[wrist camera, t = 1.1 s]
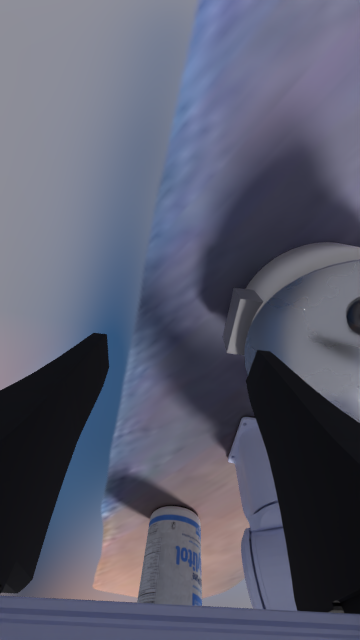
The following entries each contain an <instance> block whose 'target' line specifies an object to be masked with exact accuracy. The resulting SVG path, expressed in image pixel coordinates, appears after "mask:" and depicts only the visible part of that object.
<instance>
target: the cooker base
mask: <svg viewBox="0 0 360 640" xmlns="http://www.w3.org/2000/svg"><path fill="white" fill-rule="evenodd" d="M359 259H360V247H356V246H351V245H346V244H341V243H334V242H320V243H312V244H307V245H303V246H300V247H297V248H294V249H291V250H289V251H287V252H285V253H283V254H281V255H279V256H278V257H276V258H274V259H273V260H271V261H270V262H269V263H268V264H266V265H265V266H264V267H263V268H262V269H261V270H260V271H259V272H258V273H257V274H256V275H255V276H254V277H253V278H252V280H251V281H250V282H249V284H248V285H247V287H246V288H245V289H241V288H234V290H233V294H232V298H231V303H230V307H229V311H228V316H227V320H226V324H225V329H224V333H223V340H224V344H225V348H226V352H227V353H230V354H239V355H244V351H245V342H246V337H247V334H248V331H249V328H250V326H251V324H252V322H253V320H254V318H255V316H256V315H257V313H258V312H259V311H260V309H261V308H262V307H263V305H264V304H265V303H266V302H267V301H268V300H269V299H270V298H271V297H272V296H273V295H274V294H275V293H276V292H278V291H279V290H280V289H281V288H283V287H284V286H285V285H287V284H288V283H290V282H292V281H293V280H295V279H297V278H299V277H300V276H303V275H305V274H307V273H309V272H312V271H314V270H316V269H320V268H323V267H326V266H329V265H332V264H337V263H341V262H346V261H351V260H359Z"/></svg>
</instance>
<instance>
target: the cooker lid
mask: <svg viewBox="0 0 360 640" xmlns="http://www.w3.org/2000/svg"><path fill="white" fill-rule="evenodd" d="M257 350H263V351H270V352H272V353H273V354H274V355H275V356H277V357H278V358H279V359H280V360H281V361H282V362H283V363H285V364H286V365H287V366H288V367H289V368H290V369H291V370H292V371H294V372H295V373H296V374H297V375H298V376H299V377H300V378H302V379H303V380H304V381H305V382H306V383H307V384H309V385H310V386H311V387H312V388H313V389H315V390H316V391H317V392H318V393H320V394H321V395H322V396H323V397H325V398H326V399H327V400H328V401H330V402H331V403H332V404H334V405H335V406H336V407H338V408H339V409H340V410H342V411H343V412H345V413H346V414H347V415H349V416H350V417H352V418H353V419H355V420H356V421H357V422H359V423H360V259H359V260H351V261H346V262H341V263H337V264H332V265H329V266H326V267H323V268H320V269H316V270H314V271H312V272H309V273H307V274H305V275H303V276H300V277H299V278H297V279H295V280H293V281H292V282H290V283H288V284H287V285H285V286H284V287H283V288H281V289H280V290H279V291H278V292H276V293H275V294H274V295H273V296H272V297H271V298H270V299H269V300H268V301H267V302H266V303H265V304H264V305H263V307H262V308H261V309H260V311H259V312H258V313H257V315H256V316H255V318H254V320H253V322H252V324H251V326H250V328H249V331H248V334H247V337H246V342H245V351H244V358H245V367H246V371H247V376H248V374H249V372H250V369H251V366H252V363H253V361H254V358H255V355H256V352H257Z"/></svg>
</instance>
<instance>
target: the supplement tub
mask: <svg viewBox="0 0 360 640" xmlns="http://www.w3.org/2000/svg"><path fill="white" fill-rule="evenodd" d="M137 603H153V604H172V605H191V606H202V586H201V525H200V520H199V518H198V516H197V515H196V514H195V513H194V512H192V511H191V510H189V509H186V508H181V507H178V506H166V507H161V508H159V509H157V510H155V511H154V512H153V513H152V515H151V517H150V523H149V529H148V536H147V543H146V549H145V556H144V562H143V568H142V575H141V582H140V588H139V595H138V601H137Z"/></svg>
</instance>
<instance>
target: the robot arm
mask: <svg viewBox="0 0 360 640" xmlns="http://www.w3.org/2000/svg"><path fill="white" fill-rule="evenodd" d="M108 369H109V360H108V345H107V335H106V334H99V333H93V334H91V335H90V336H88V337H87V338H86V339H84V340H83V341H81V342H80V343H79V344H77V345H76V346H74V347H73V348H71V349H70V350H69V351H67V352H66V353H64V354H63V355H61V356H60V357H58V358H57V359H55V360H53V361H52V362H50V363H49V364H47V365H45V366H44V367H42V368H41V369H39V370H37V371H36V372H34V373H32V374H31V375H29V376H27V377H25V378H23V379H22V380H20V381H18V382H16V383H14V384H12V385H10V386H8V387H6V388H4V389H2V390H0V593H18V592H20V591H21V590H22V589H23V588H24V587H26V586H27V585H28V583H29V582H30V581H31V580H32V579H33V575H34V572H35V569H36V565H37V562H38V558H39V555H40V552H41V549H42V545H43V542H44V539H45V535H46V532H47V529H48V525H49V522H50V519H51V516H52V513H53V510H54V507H55V504H56V501H57V498H58V495H59V492H60V489H61V486H62V483H63V480H64V477H65V474H66V471H67V469H68V466H69V463H70V460H71V458H72V455H73V452H74V449H75V447H76V444H77V441H78V439H79V436H80V434H81V432H82V430H83V428H84V425H85V423H86V421H87V419H88V417H89V415H90V413H91V410H92V408H93V407H94V404H95V402H96V400H97V398H98V396H99V394H100V391H101V389H102V387H103V384H104V381H105V378H106V375H107V372H108ZM246 383H247V389H248V394H249V399H250V402H251V406H252V409H253V412H254V415H255V418H251V417H243V418H242V419H241V422H240V425H239V428H238V430H237V433H236V436H235V439H234V442H233V445H232V448H231V451H230V454H229V457H228V461H229V462H230V463H235V467H236V473H237V478H238V484H239V490H240V496H241V502H242V507H243V511H244V514H245V516H246V518H247V520H248V522H249V524H250V528H246V529H245V531H244V535H243V538H242V542H241V553H242V563H243V569H244V575H245V580H246V584H247V589H248V593H249V596H250V600H251V604H252V606H253V609H248V608H229V607H210V606H191V605H172V604H153V603H132V602H114V601H113V602H112V601H95V600H75V599H56V598H35V597H16V596H0V640H360V423H359V422H357V421H356V420H355V419H353V418H352V417H350V416H349V415H347V414H346V413H345V412H343V411H342V410H340V409H339V408H338V407H336V406H335V405H334V404H332V403H331V402H330V401H328V400H327V399H326V398H325V397H323V396H322V395H321V394H320V393H318V392H317V391H316V390H315V389H313V388H312V387H311V386H310V385H309V384H307V383H306V382H305V381H304V380H303V379H302V378H300V377H299V376H298V375H297V374H296V373H295V372H294V371H292V370H291V369H290V368H289V367H288V366H287V365H286V364H285V363H283V362H282V361H281V360H280V359H279V358H278V357H277V356H275V355H274V354H273V353H272V352H270V351H263V350H257V352H256V355H255V358H254V361H253V363H252V366H251V369H250V372H249V374H248V377H247V380H246Z"/></svg>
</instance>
